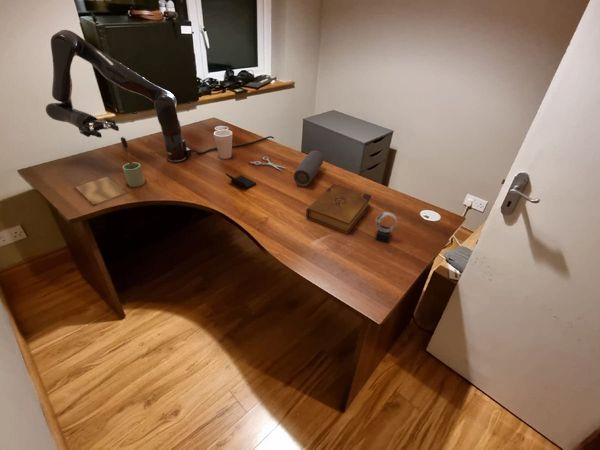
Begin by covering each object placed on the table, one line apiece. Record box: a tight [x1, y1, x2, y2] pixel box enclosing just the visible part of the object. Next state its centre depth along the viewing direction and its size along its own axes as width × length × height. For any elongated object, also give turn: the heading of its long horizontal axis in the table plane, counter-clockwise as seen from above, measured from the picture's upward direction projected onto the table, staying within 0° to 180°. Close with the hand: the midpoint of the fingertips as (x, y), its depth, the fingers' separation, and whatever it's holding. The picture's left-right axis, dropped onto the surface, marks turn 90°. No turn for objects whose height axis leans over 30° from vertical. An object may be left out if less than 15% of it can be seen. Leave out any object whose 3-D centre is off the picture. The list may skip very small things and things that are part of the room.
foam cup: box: [213, 129, 234, 160], centre depth 174 cm, size 10×9×13 cm
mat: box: [75, 176, 127, 206], centre depth 147 cm, size 14×20×1 cm
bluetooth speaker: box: [293, 149, 325, 187], centre depth 159 cm, size 23×9×10 cm, turn 161°
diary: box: [305, 183, 372, 235], centre depth 137 cm, size 23×19×6 cm
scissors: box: [249, 156, 286, 172], centre depth 171 cm, size 11×1×20 cm
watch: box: [374, 211, 398, 243], centre depth 123 cm, size 6×8×11 cm
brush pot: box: [122, 161, 146, 188], centre depth 150 cm, size 7×8×9 cm
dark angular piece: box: [225, 173, 257, 190], centre depth 154 cm, size 12×7×10 cm
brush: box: [120, 136, 134, 169], centre depth 146 cm, size 2×2×22 cm
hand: (109, 132), depth 143 cm, fingers open, 8 cm apart
